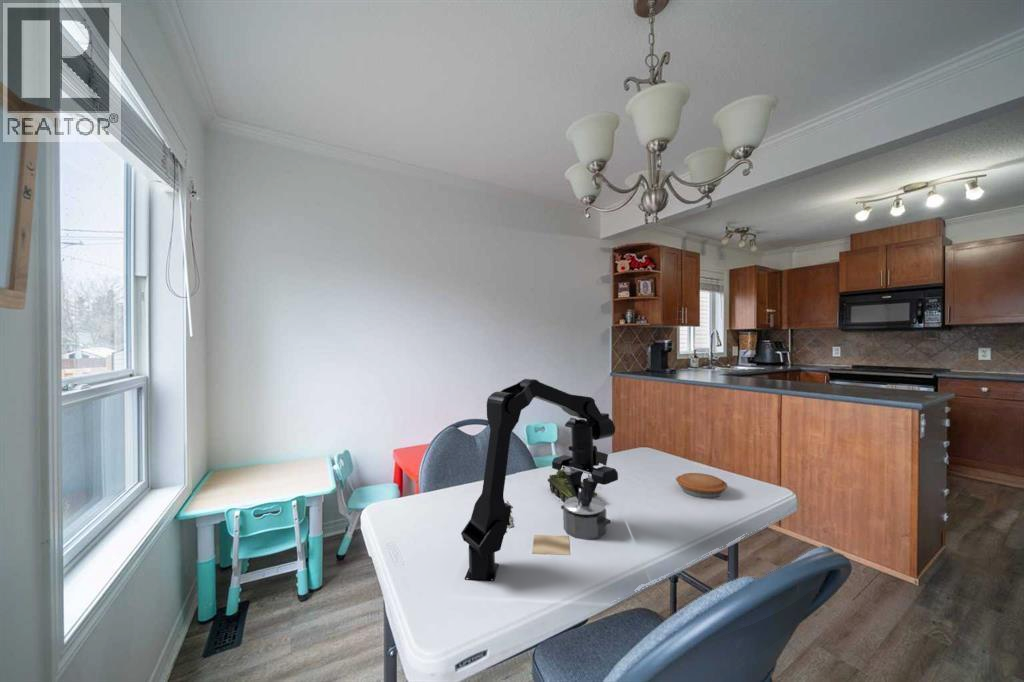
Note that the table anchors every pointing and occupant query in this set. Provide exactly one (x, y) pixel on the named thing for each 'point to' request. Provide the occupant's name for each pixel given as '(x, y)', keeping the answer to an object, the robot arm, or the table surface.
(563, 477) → the toy vehicle
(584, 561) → the table surface
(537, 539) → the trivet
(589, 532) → the pot
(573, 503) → the lid
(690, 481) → the pie
